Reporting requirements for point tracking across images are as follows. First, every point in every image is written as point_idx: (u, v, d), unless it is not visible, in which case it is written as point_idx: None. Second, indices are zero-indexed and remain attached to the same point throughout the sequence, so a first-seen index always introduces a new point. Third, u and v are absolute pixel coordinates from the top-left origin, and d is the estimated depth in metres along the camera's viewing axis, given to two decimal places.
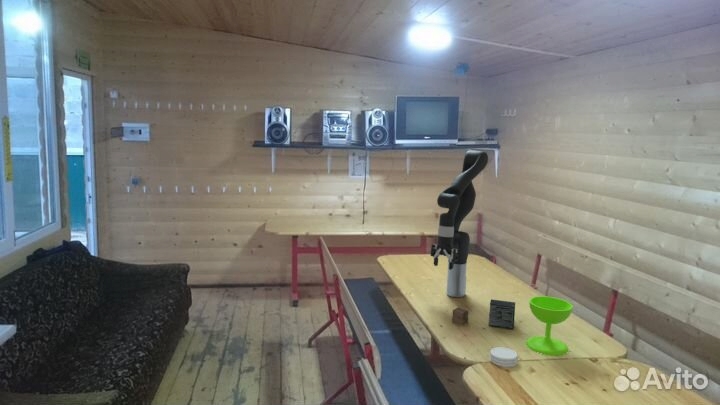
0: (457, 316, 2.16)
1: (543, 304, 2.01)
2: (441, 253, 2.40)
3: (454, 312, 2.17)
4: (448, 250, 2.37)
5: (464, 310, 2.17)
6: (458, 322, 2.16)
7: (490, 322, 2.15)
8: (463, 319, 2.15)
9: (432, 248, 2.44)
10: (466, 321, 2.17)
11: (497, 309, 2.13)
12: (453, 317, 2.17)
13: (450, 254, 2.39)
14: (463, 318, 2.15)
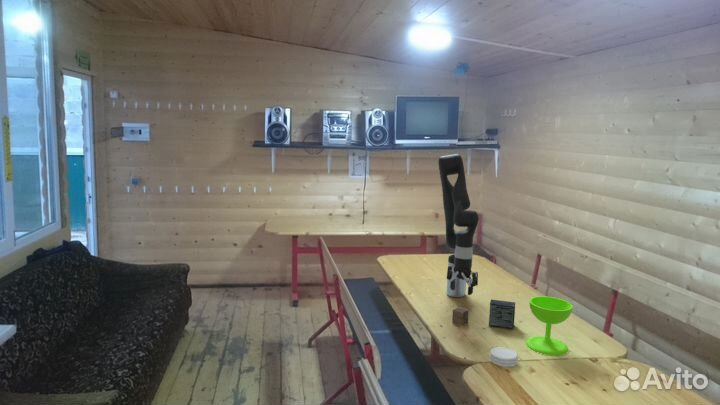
0: (457, 316, 2.16)
1: (543, 304, 2.01)
2: (459, 276, 2.15)
3: (454, 312, 2.17)
4: (467, 273, 2.12)
5: (464, 310, 2.17)
6: (458, 322, 2.16)
7: (490, 322, 2.15)
8: (463, 319, 2.15)
9: (448, 270, 2.18)
10: (466, 321, 2.17)
11: (497, 309, 2.13)
12: (453, 317, 2.17)
13: (469, 277, 2.14)
14: (463, 318, 2.15)
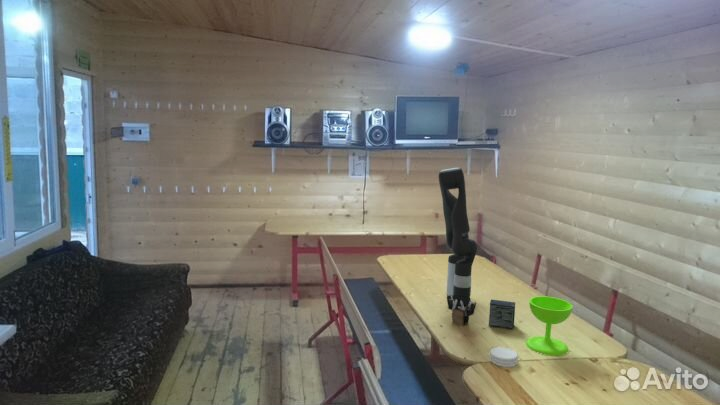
0: (457, 316, 2.16)
1: (543, 304, 2.01)
2: (459, 304, 2.16)
3: (454, 312, 2.17)
4: (465, 303, 2.14)
5: None
6: (458, 322, 2.16)
7: (490, 322, 2.15)
8: (463, 319, 2.15)
9: (448, 300, 2.20)
10: None
11: (497, 309, 2.13)
12: (453, 317, 2.17)
13: (466, 306, 2.16)
14: (463, 318, 2.15)
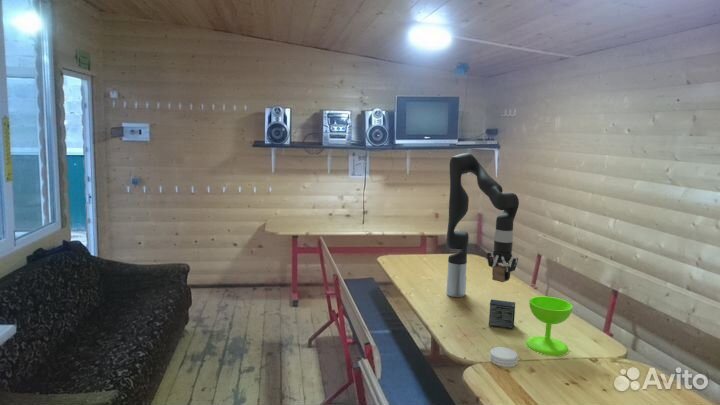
0: (498, 272, 2.10)
1: (543, 304, 2.01)
2: (500, 260, 2.11)
3: (495, 268, 2.11)
4: (507, 258, 2.09)
5: None
6: (499, 278, 2.10)
7: (490, 322, 2.15)
8: (504, 276, 2.10)
9: (488, 257, 2.15)
10: None
11: (497, 309, 2.13)
12: (494, 274, 2.12)
13: (507, 262, 2.11)
14: (504, 274, 2.10)
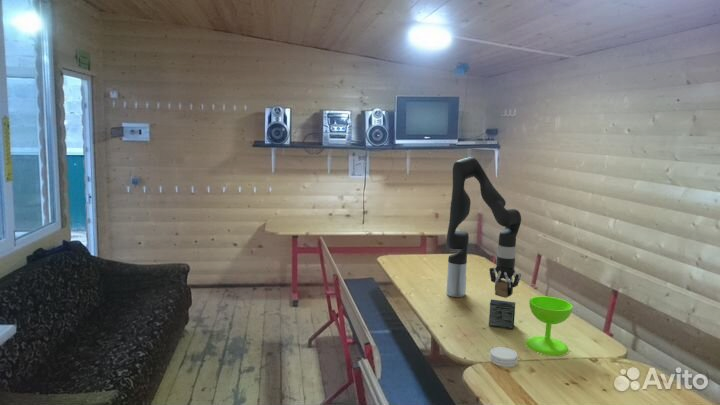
0: (501, 288, 2.12)
1: (543, 304, 2.01)
2: (502, 276, 2.12)
3: (497, 284, 2.13)
4: (510, 274, 2.10)
5: None
6: (501, 294, 2.12)
7: (490, 322, 2.15)
8: (507, 291, 2.11)
9: (491, 272, 2.16)
10: None
11: (497, 309, 2.13)
12: (496, 289, 2.13)
13: (510, 278, 2.12)
14: (507, 290, 2.11)
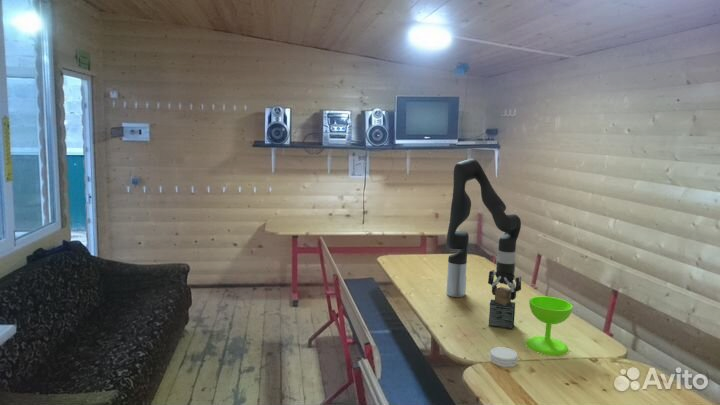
0: (500, 295, 2.12)
1: (543, 304, 2.01)
2: (501, 281, 2.13)
3: (497, 291, 2.13)
4: (510, 278, 2.10)
5: (507, 289, 2.13)
6: (501, 301, 2.12)
7: (490, 322, 2.15)
8: (507, 299, 2.12)
9: (490, 275, 2.17)
10: (509, 301, 2.14)
11: (497, 309, 2.13)
12: (496, 296, 2.14)
13: (511, 282, 2.12)
14: (506, 297, 2.12)
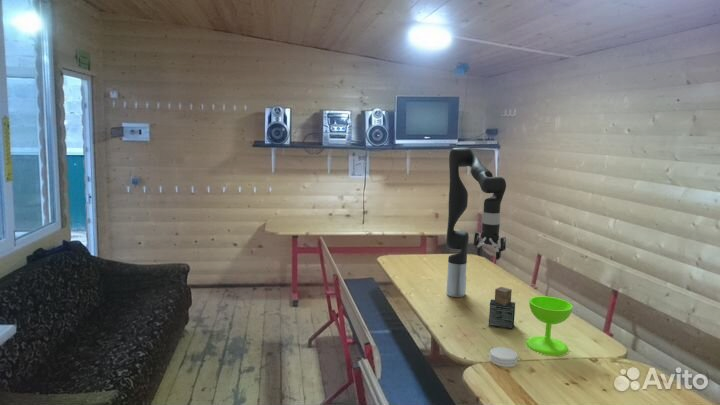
0: (500, 295, 2.12)
1: (543, 304, 2.01)
2: (486, 242, 2.19)
3: (497, 291, 2.13)
4: (494, 239, 2.16)
5: (507, 289, 2.13)
6: (501, 301, 2.12)
7: (490, 322, 2.15)
8: (506, 299, 2.12)
9: (475, 237, 2.22)
10: (509, 301, 2.14)
11: (497, 309, 2.13)
12: (496, 296, 2.14)
13: (496, 243, 2.18)
14: (506, 297, 2.12)
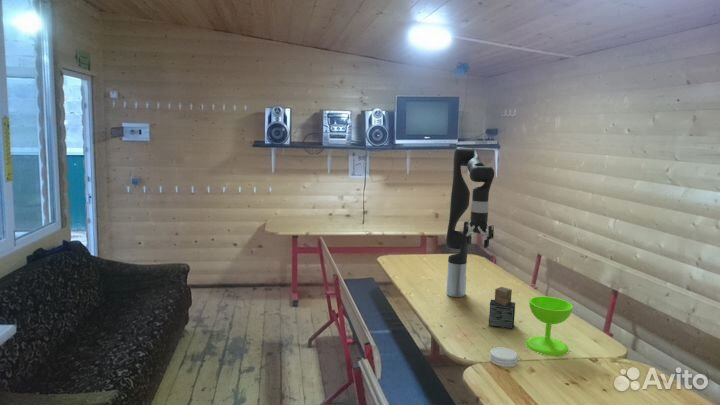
0: (500, 295, 2.12)
1: (543, 304, 2.01)
2: (475, 230, 2.23)
3: (497, 291, 2.13)
4: (483, 227, 2.20)
5: (507, 289, 2.13)
6: (501, 301, 2.12)
7: (490, 322, 2.15)
8: (507, 299, 2.12)
9: (465, 225, 2.27)
10: (509, 301, 2.14)
11: (497, 309, 2.13)
12: (496, 297, 2.14)
13: (485, 231, 2.22)
14: (506, 297, 2.12)
